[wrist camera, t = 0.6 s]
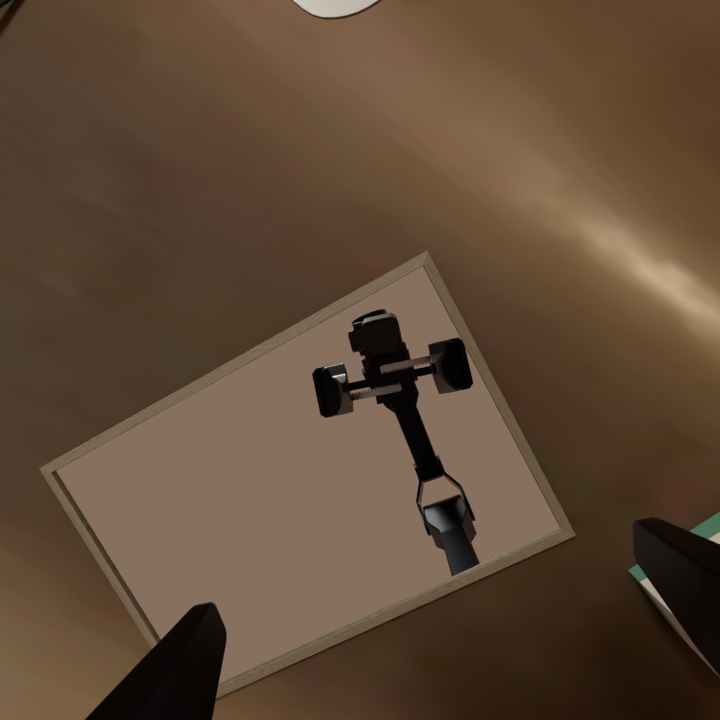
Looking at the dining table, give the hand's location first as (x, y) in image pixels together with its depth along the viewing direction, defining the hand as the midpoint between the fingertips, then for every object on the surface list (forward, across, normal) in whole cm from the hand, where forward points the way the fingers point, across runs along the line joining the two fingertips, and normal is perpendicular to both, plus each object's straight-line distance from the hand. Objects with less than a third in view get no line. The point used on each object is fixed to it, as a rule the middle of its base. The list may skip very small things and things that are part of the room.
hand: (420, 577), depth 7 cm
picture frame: (+14, +7, +7) cm, 17 cm away
